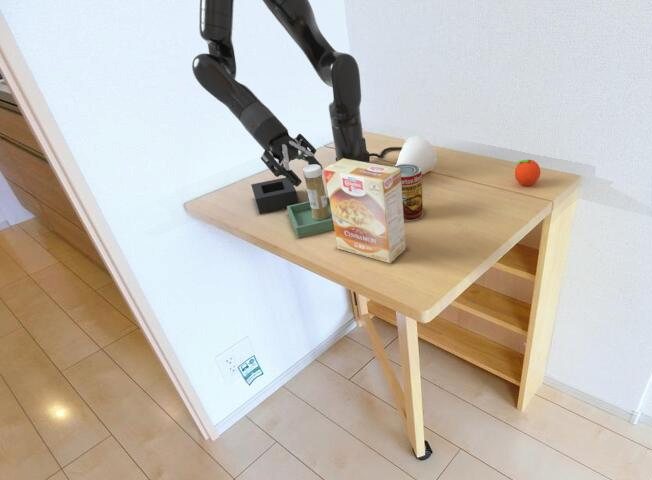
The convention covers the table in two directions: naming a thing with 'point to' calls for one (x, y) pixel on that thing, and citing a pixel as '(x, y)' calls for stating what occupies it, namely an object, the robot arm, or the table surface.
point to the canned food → (411, 191)
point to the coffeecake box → (367, 208)
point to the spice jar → (316, 191)
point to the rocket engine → (418, 154)
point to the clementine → (527, 172)
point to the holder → (274, 195)
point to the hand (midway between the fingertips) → (310, 177)
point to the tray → (308, 220)
